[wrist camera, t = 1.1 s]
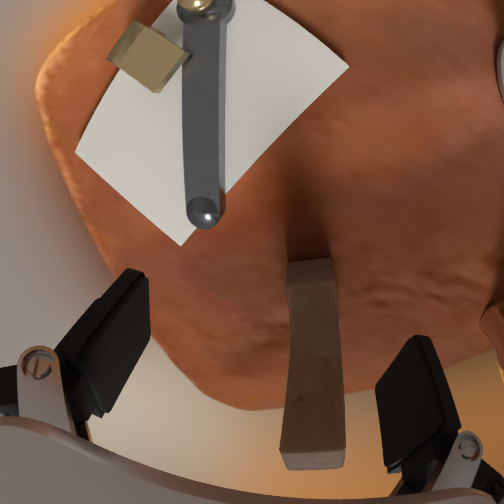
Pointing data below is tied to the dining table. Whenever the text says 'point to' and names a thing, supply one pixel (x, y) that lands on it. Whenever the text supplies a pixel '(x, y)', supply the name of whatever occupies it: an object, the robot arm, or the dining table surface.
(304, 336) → the wooden block
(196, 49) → the link
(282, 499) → the robot arm
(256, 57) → the base plate
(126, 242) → the dining table surface
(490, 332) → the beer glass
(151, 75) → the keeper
